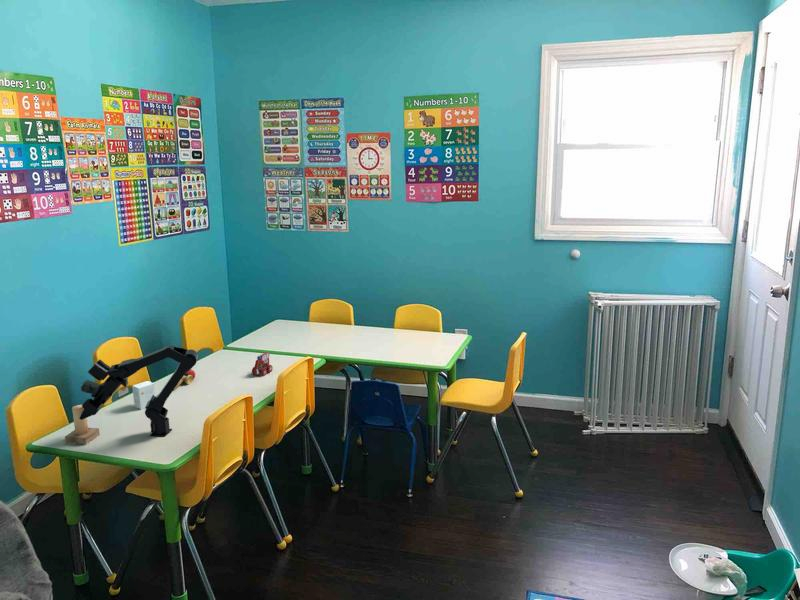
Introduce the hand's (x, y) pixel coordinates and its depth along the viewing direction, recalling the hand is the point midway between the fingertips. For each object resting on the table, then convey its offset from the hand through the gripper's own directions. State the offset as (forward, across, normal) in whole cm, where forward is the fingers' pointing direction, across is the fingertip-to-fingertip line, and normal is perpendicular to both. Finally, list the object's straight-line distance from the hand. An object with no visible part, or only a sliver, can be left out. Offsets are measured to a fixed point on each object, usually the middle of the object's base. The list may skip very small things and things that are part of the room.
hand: (84, 414), depth 257 cm
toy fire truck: (-36, -69, +53) cm, 94 cm away
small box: (-2, -32, +18) cm, 37 cm away
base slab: (+9, 0, +6) cm, 11 cm away
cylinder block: (+7, 0, +4) cm, 8 cm away
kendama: (-9, -58, +26) cm, 64 cm away
